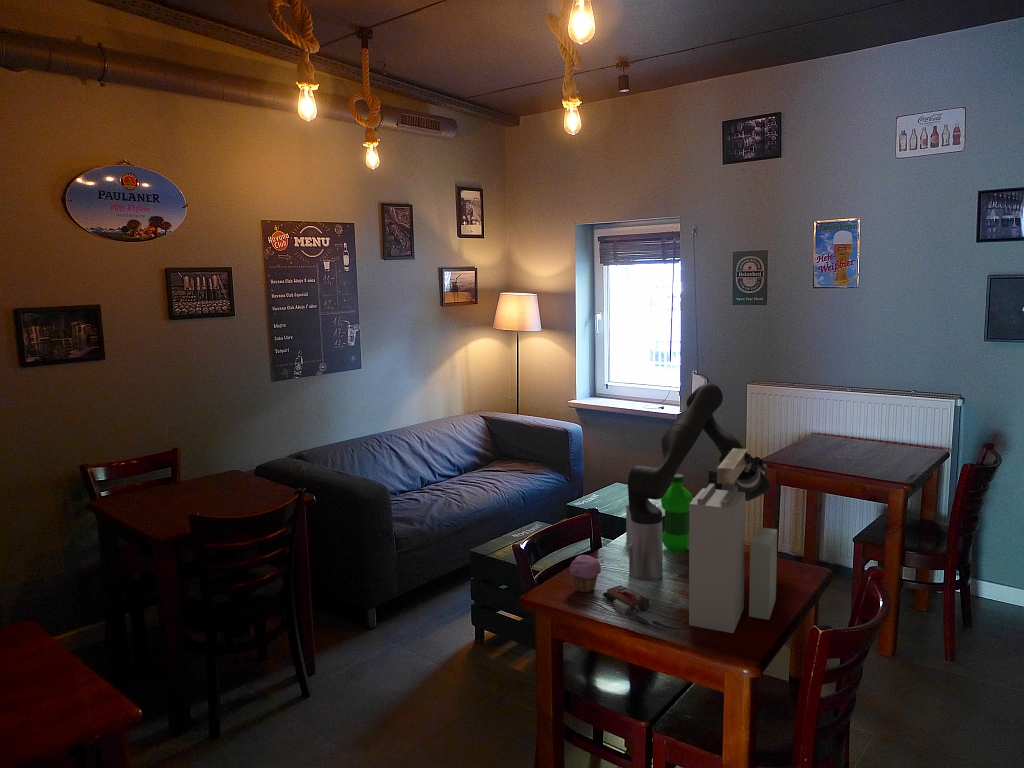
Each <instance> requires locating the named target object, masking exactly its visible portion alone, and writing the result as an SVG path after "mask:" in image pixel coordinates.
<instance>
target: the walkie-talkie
mask: <svg viewBox="0 0 1024 768" xmlns="http://www.w3.org/2000/svg"><path fill="white" fill-rule="evenodd" d="M602 596H603V597H604V598H605V599H606V600H607V601H608V602H610V603H612V604H613V606H614V607H615V611H616V612H618V613H620V614H622V615H623V616H626V615H629V616H631V617H633V618H635V619H637V620H638V621H641V622H642V623H643V622H644V623H645V624H648V623H649V619H646V618H644V617H642V616H641V615H639V614H638V613H639V612H642V611H647V610H649V609H650V598H647V597H645V596H643V595H642V594H640V593H639V592H638V591H636V590H634V589H633V588H628V587H626V586H623V585H617V586H613V587H610V588H607V590H606V592H603V593H602Z"/></svg>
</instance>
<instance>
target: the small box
mask: <svg viewBox="0 0 1024 768" xmlns="http://www.w3.org/2000/svg"><path fill="white" fill-rule="evenodd" d="M652 504H653V505H655V506H656V507H657V505H656V504H654V503H652ZM625 508H626V509H625V511H626V512H625V513H626V519H625V520H626V522H625V525H626V526H625V529H626V535H625V536H626V540H625V541H626V542H627V543H629V544H631V514H630V511H629V503H628V504H626V505H625Z"/></svg>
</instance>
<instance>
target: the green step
mask: <svg viewBox="0 0 1024 768" xmlns="http://www.w3.org/2000/svg"><path fill="white" fill-rule="evenodd" d="M777 543H778V529H777V528H776V529H775V528H770V527H769V528H767V527H760V526H759V527H757V528H756V530H755V532H754V534H753V536H752V538H751V541H750V543H749V586H748V587H749V591H748V593H749V595H748V597H749V598H748V601H749V602H748V605H749V606H748V617H751V618H755V619H762V620H766V621H767V620H768V621H770V619H771V616H772V612H773V610H774V606H775V603H776V600H777V560H778V558H777V557H778V556H777V555H778V554H777V553H778V551H777V550H778V548H777V547H778V544H777Z"/></svg>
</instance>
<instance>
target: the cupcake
mask: <svg viewBox="0 0 1024 768" xmlns="http://www.w3.org/2000/svg"><path fill="white" fill-rule="evenodd" d="M601 569H602V568H601V564H600V561H599V560H598V559H597V558H595V557H593V556H591V555H588V554H580V555H577V556H576V557H575V558H574V560H572V562H571V564H570V566H569V571H570V573H571V575H572V577H573V586H574V589H575V590H576V591H577V592H580V593H589V592H592V591H593V590H594V589H595V588H596V585H597V584H596V583H597V579H598V576H599V574H600V573H601V571H602V570H601Z"/></svg>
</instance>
